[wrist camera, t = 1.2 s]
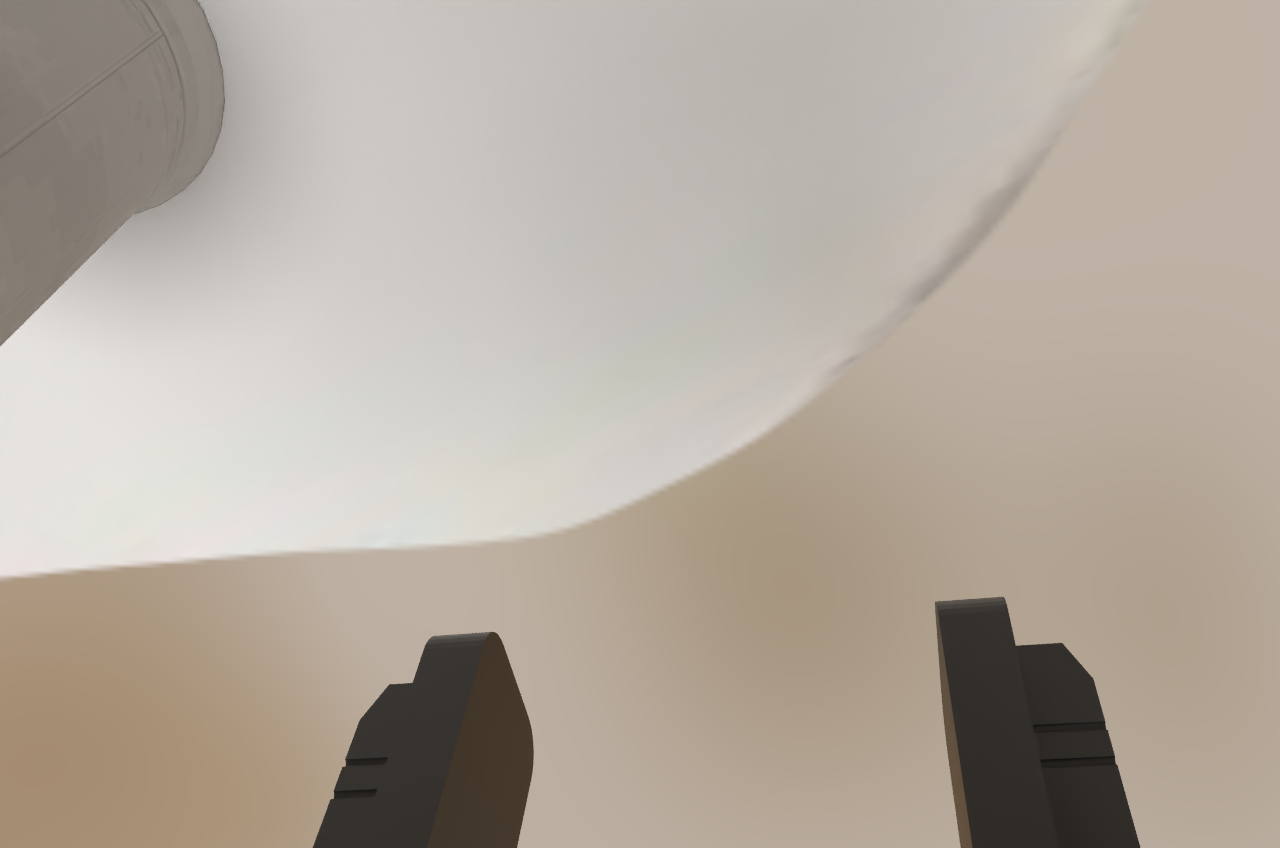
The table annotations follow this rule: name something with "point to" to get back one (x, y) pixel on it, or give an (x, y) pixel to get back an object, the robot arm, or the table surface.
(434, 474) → the table surface
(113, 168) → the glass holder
